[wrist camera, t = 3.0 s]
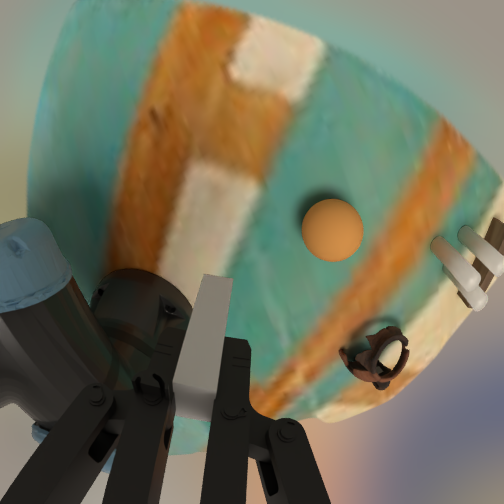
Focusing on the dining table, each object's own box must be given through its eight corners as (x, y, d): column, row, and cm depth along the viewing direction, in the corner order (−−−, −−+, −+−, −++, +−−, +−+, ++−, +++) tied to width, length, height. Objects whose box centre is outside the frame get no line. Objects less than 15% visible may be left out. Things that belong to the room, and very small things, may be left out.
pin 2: (440, 271, 31) (470, 311, 24) (447, 256, 30) (480, 294, 23) (451, 274, 31) (481, 311, 24) (458, 259, 30) (491, 296, 23)
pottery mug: (326, 339, 38) (358, 359, 30) (372, 302, 40) (409, 314, 32) (350, 389, 40) (379, 412, 32) (390, 355, 42) (422, 372, 34)
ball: (292, 238, 30) (298, 268, 24) (305, 185, 27) (316, 205, 22) (343, 247, 30) (358, 278, 25) (359, 198, 27) (381, 220, 22)
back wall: (457, 293, 33) (467, 307, 30) (493, 217, 27) (508, 228, 24) (464, 294, 33) (475, 308, 30) (499, 220, 27) (514, 231, 24)
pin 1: (455, 239, 29) (491, 275, 22) (461, 223, 28) (500, 256, 20) (465, 243, 29) (501, 277, 22) (472, 227, 28) (510, 259, 20)
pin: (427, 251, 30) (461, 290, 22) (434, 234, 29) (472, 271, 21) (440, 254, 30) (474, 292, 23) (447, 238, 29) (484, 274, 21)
